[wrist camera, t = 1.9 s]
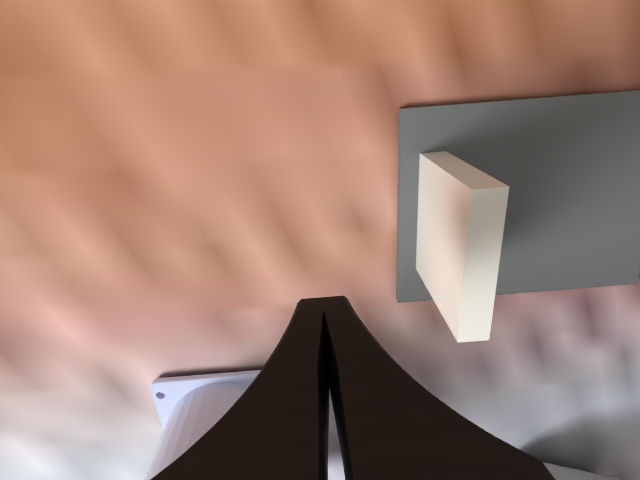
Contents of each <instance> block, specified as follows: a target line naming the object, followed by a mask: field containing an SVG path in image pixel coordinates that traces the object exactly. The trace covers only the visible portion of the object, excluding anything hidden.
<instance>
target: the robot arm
mask: <svg viewBox="0 0 640 480" xmlns="http://www.w3.org/2000/svg"><path fill="white" fill-rule="evenodd" d="M329 388H330V393H331V399H332V404H333V410H334V416H335V421H336V427H337V432H338V438H339V443H340V449H341V454H342V460H343V466H344V473H345V480H556V479H555V478H554V477H553V475H552V474H551V473H550V472H549V470H548V469H547V468H546V466H545V465H544V463H543V462H541V461H539V460H538V459H536V458H534V457H532V456H530V455H528V454H526V453H525V452H523V451H521V450H519V449H517V448H515V447H514V446H512V445H510V444H508V443H506V442H504V441H502V440H501V439H499V438H497V437H495V436H493V435H492V434H490V433H488V432H487V431H485V430H483V429H482V428H480V427H479V426H477V425H475V424H474V423H472V422H471V421H469V420H467V419H466V418H464V417H463V416H461V415H460V414H458V413H457V412H456V411H454V410H453V409H451V408H450V407H449V406H447V405H446V404H445V403H443V402H442V401H440V400H439V399H438V398H436V397H435V396H434V395H432V394H431V393H430V392H429V391H427V390H426V389H425V388H424V387H423V386H421V385H420V384H419V383H418V382H417V381H416V380H414V379H413V378H412V377H411V376H410V375H409V374H408V373H407V372H406V371H405V370H403V369H402V368H401V367H400V366H399V365H398V364H397V363H396V362H395V361H394V360H393V359H392V357H391V356H390V355H389V354H388V353H387V352H386V351H385V350H384V349H383V348H382V347H381V345H380V344H379V343H378V342H377V341H376V339H375V338H374V337H373V336H372V334H371V333H370V332H369V331H368V329H367V328H366V327H365V326H364V324H363V323H362V321H361V320H360V319H359V317H358V316H357V314H356V313H355V311H354V309H353V308H352V306H351V304H350V302H349V300H348V299H347V298H346V297H345V296H335V297H322V298H309V299H301V300H300V301H299V302H298V303H297V306H296V309H295V312H294V314H293V316H292V319H291V321H290V323H289V325H288V327H287V329H286V331H285V332H284V334H283V336H282V338H281V340H280V342H279V343H278V345H277V347H276V348H275V350H274V351H273V353H272V355H271V356H270V358H269V359H268V361H267V362H266V364H265V365H264V367H263V368H262V370H254V371H241V372H229V373H216V374H204V375H191V376H179V377H166V378H157V379H155V380H153V382H152V384H151V386H150V390H151V393H152V396H153V399H154V402H155V405H156V408H157V412H158V415H159V418H160V421H161V424H162V427H163V430H164V431H163V434H162V436H161V439H160V441H159V444H158V446H157V449H156V451H155V454H154V456H153V459H152V462H151V464H150V467H149V469H148V472H147V474H146V477H145V479H144V480H328V465H327V464H328V426H329ZM160 392H162V393H164V394H161V393H160Z"/></svg>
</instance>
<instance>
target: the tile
mask: <svg viewBox="0 0 640 480" xmlns="http://www.w3.org/2000/svg"><path fill="white" fill-rule="evenodd" d="M508 193H509V186H507V185H506V184H504V183H502V182H500V181H498V180H497V179H495V178H493V177H491V176H489V175H488V174H486V173H484V172H482V171H480V170H479V169H477V168H475V167H473V166H471V165H470V164H468V163H466V162H464V161H462V160H461V159H459V158H457V157H455V156H454V155H452V154H450V153H448V152H446V151H442V152H429V153H420V161H419V190H418V220H417V249H416V270H417V272H418V273H419V275H420V277H421V279H422V280H423V282H424V284H425V286H426V288H427V289H428V291H429V293H430V295H431V296H432V298H433V300H434V302H435V303H436V305H437V307H438V309H439V311H440V312H441V314H442V316H443V318H444V319H445V321H446V323H447V325H448V326H449V328H450V330H451V332H452V333H453V335H454V337H455V339H456V341H457V342H458V343H459V342H472V341H484V340H489V338H490V330H491V323H492V315H493V307H494V300H495V292H496V285H497V277H498V269H499V262H500V254H501V246H502V239H503V231H504V224H505V216H506V208H507V201H508Z"/></svg>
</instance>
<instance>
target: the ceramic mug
mask: <svg viewBox="0 0 640 480" xmlns="http://www.w3.org/2000/svg"><path fill="white" fill-rule="evenodd" d="M543 463H544V465H545V466H546V468H547V469H548V470H549V472H550V473H551V474H552V475H553V477H554V478H555V479H556V480H620V479H618V478H615V477H610V476H605V475H600V474H596V473H591V472H587V471H583V470H578V469H573V468H567V467H562V466H558V465H554V464H550V463H545V462H543Z"/></svg>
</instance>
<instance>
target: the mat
mask: <svg viewBox="0 0 640 480" xmlns="http://www.w3.org/2000/svg"><path fill="white" fill-rule="evenodd" d="M442 151H446V152H448V153H450V154H452V155H454V156H455V157H457V158H459V159H461V160H462V161H464V162H466V163H468V164H470V165H471V166H473V167H475V168H477V169H479V170H480V171H482V172H484V173H486V174H488V175H489V176H491V177H493V178H495V179H497V180H498V181H500V182H502V183H504V184H506V185H507V186H509V193H508V201H507V208H506V216H505V224H504V231H503V239H502V246H501V254H500V262H499V269H498V277H497V285H496V292H495V295H501V294H513V293H526V292H538V291H551V290H564V289H576V288H589V287H601V286H614V285H627V284H636V282H637V279H638V276H639V272H640V90H630V91H617V92H604V93H591V94H578V95H565V96H552V97H539V98H526V99H513V100H500V101H486V102H473V103H460V104H447V105H434V106H421V107H408V108H399V138H398V221H397V301H398V303H400V302H412V301H425V300H433V298H432V296H431V295H430V293H429V291H428V289H427V288H426V286H425V284H424V282H423V280H422V279H421V277H420V275H419V273H418V272H417V270H416V249H417V220H418V190H419V161H420V153H429V152H442Z"/></svg>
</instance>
